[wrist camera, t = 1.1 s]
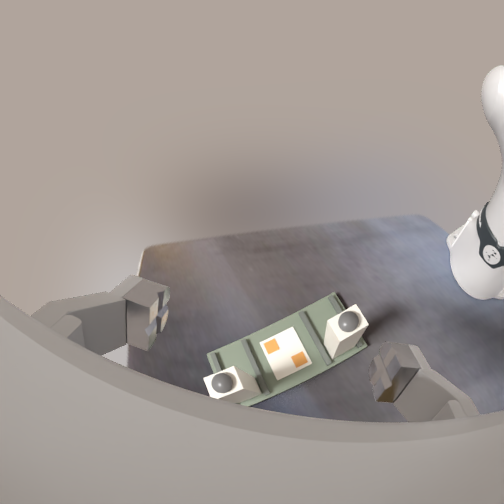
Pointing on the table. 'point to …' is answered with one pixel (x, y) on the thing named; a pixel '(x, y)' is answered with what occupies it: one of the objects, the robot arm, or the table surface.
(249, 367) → the switch unit
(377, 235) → the table surface
